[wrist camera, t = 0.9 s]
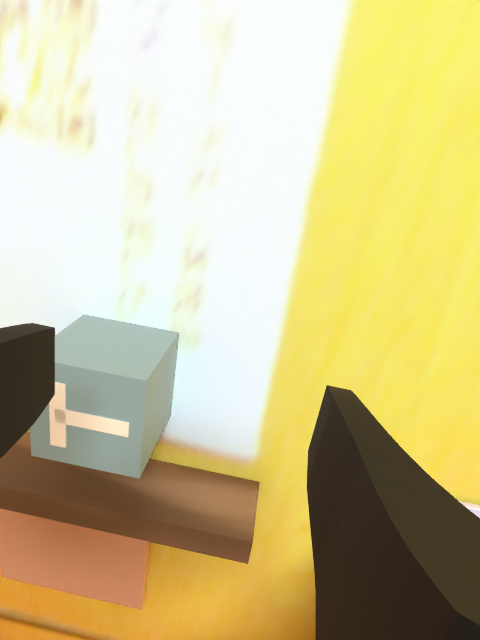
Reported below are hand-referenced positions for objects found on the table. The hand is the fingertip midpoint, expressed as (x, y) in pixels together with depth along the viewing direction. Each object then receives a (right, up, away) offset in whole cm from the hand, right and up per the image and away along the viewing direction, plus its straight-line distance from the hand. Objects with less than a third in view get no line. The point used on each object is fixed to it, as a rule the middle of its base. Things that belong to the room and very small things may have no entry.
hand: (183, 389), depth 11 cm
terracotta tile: (-9, -12, +16) cm, 22 cm away
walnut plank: (-6, -6, +14) cm, 16 cm away
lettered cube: (-4, -1, +11) cm, 12 cm away
